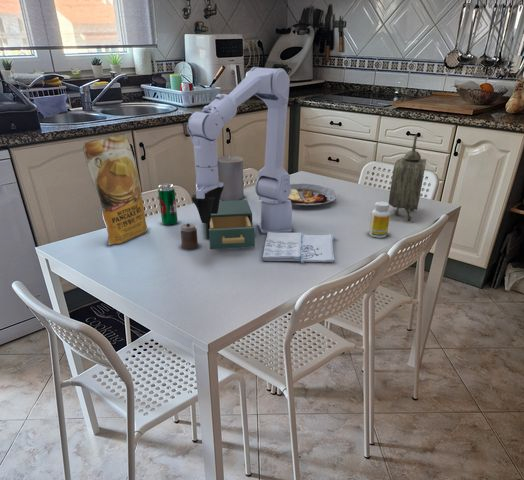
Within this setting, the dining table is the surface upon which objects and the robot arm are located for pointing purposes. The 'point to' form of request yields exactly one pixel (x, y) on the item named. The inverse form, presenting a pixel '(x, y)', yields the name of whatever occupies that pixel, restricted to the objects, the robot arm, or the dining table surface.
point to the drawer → (231, 232)
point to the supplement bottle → (379, 220)
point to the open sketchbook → (298, 247)
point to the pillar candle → (231, 177)
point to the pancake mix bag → (117, 186)
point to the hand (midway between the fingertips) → (209, 217)
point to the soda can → (167, 204)
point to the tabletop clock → (407, 181)
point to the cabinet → (231, 211)
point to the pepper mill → (189, 236)
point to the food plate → (311, 195)
